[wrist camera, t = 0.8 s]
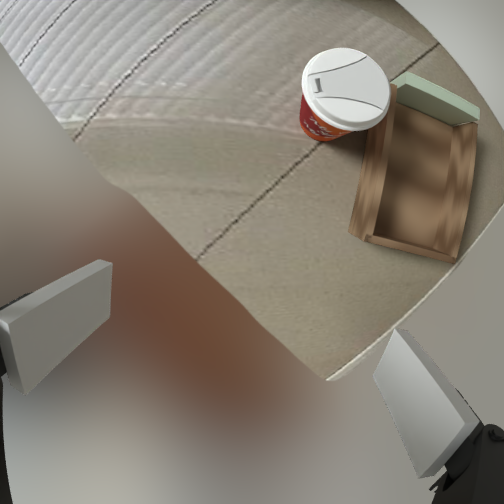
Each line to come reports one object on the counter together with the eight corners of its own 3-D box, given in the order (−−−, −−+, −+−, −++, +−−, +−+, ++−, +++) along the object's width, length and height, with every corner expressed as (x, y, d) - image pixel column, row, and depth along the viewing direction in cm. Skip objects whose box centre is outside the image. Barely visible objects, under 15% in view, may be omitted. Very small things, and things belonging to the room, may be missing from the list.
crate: (372, 98, 31) (390, 82, 25) (451, 130, 31) (477, 124, 25) (348, 231, 35) (363, 241, 29) (430, 252, 35) (454, 264, 29)
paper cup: (297, 154, 34) (315, 132, 20) (285, 95, 32) (293, 45, 18) (358, 146, 33) (406, 125, 19) (344, 89, 31) (382, 43, 18)
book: (381, 87, 30) (405, 70, 23) (449, 116, 30) (480, 109, 23) (380, 97, 31) (403, 82, 23) (448, 126, 30) (480, 120, 23)
